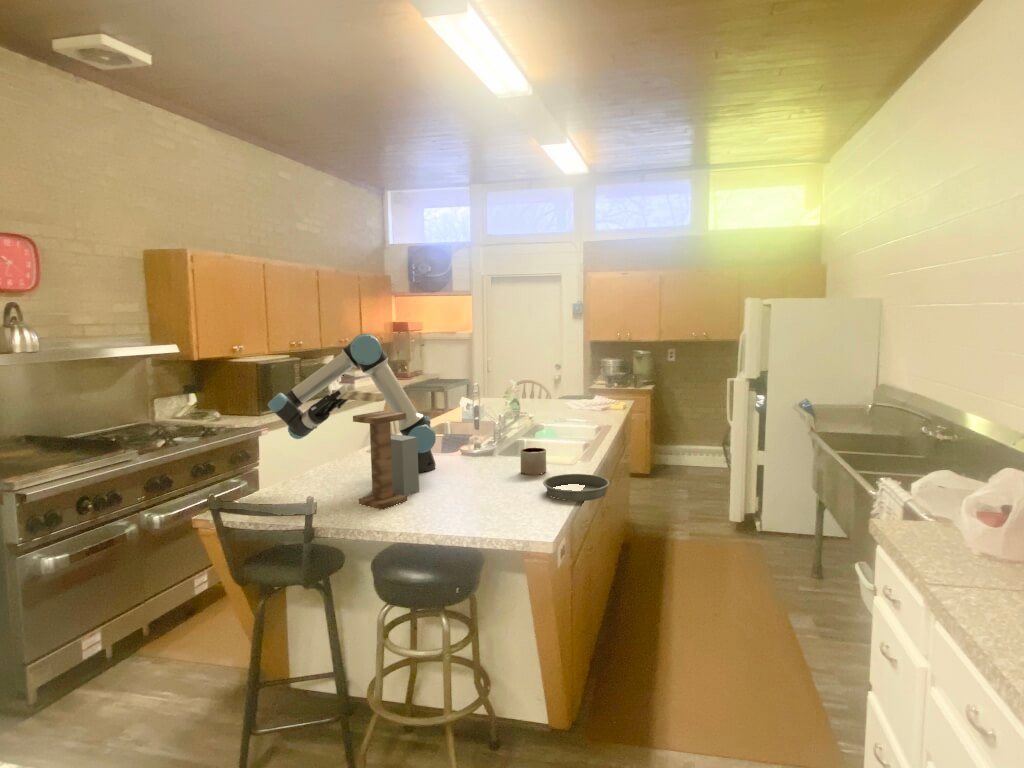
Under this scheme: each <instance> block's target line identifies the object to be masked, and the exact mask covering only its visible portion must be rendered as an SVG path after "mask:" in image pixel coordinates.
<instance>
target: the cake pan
mask: <svg viewBox="0 0 1024 768" xmlns="http://www.w3.org/2000/svg"><path fill="white" fill-rule="evenodd" d="M568 484H579V485H585V487H584V488H583V490H581V491H572V490H561V489H555V488H553V487H556V486H561V485H568ZM610 484H611V483H610V481H609V480H608V479H607V478H605V477H602V476H600V475H594V474H587V473H586V474H585V473H567V474H566V473H565V474H558V475H552V476H551V477H550V476H549V477H547V478H546V479H544V480H543V482H542V485H543V486H544V487H545V488H546V490H547V494H548V496H549V497H551V496H552V497H551V498H553V497H555V498H554V499H556V498H559V499H558V500H561V499H565V500H564V501H568V500H572V501H571V502H584V501H585V502H586V501H592V500H593V501H594V500H598V499H601V498H602V497H604V496H605V495H606V492H607V488H608V487H609V486H610Z"/></svg>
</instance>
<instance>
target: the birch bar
mask: <svg viewBox="0 0 1024 768" xmlns="http://www.w3.org/2000/svg"><path fill="white" fill-rule="evenodd" d="M337 390H338V389H333V390H332V389H331V394H334V393H335V392H336V391H337ZM339 399H348V401H350V400H351V401H352V400H353V401H361V402H362V401H363V402H375V403H377V402H383V401H384V398H383V392H380V391H366V390H355V391H354V390H348V392H346V393H345V394H344V395H343V396H342V397H340V398H339Z"/></svg>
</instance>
